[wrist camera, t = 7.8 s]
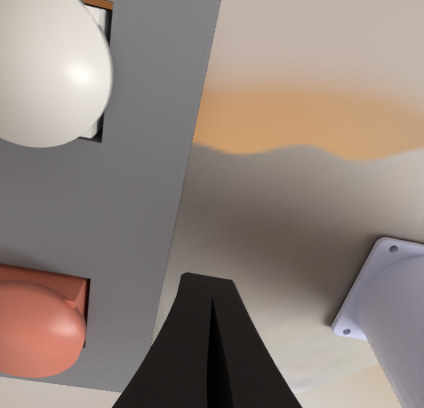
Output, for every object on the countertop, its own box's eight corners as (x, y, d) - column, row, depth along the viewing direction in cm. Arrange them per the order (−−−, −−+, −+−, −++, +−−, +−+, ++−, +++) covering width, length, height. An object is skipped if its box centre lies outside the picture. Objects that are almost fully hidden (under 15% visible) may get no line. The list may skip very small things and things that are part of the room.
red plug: (112, 242, 19) (84, 303, 15) (104, 314, 22) (78, 384, 17) (8, 223, 19) (-52, 282, 14) (12, 300, 21) (-38, 369, 17)
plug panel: (233, -68, 14) (241, -101, 10) (149, 341, 24) (140, 395, 21) (-85, -159, 12) (-203, -234, 9) (-26, 315, 23) (-69, 367, 20)
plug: (142, 1, 15) (115, -10, 10) (128, 128, 17) (101, 161, 13) (6, -34, 14) (-83, -61, 10) (11, 103, 16) (-58, 129, 12)
